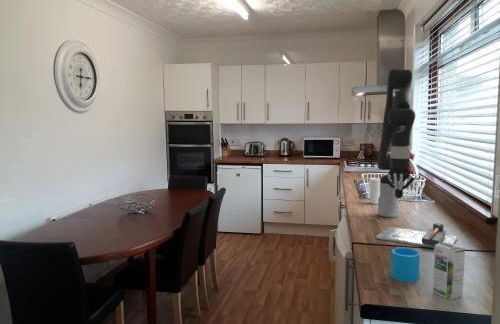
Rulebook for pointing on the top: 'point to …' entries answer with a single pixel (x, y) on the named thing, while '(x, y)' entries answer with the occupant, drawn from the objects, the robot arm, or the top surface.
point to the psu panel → (409, 236)
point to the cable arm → (434, 235)
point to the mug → (405, 264)
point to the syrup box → (448, 270)
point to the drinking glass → (374, 190)
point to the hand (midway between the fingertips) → (398, 198)
